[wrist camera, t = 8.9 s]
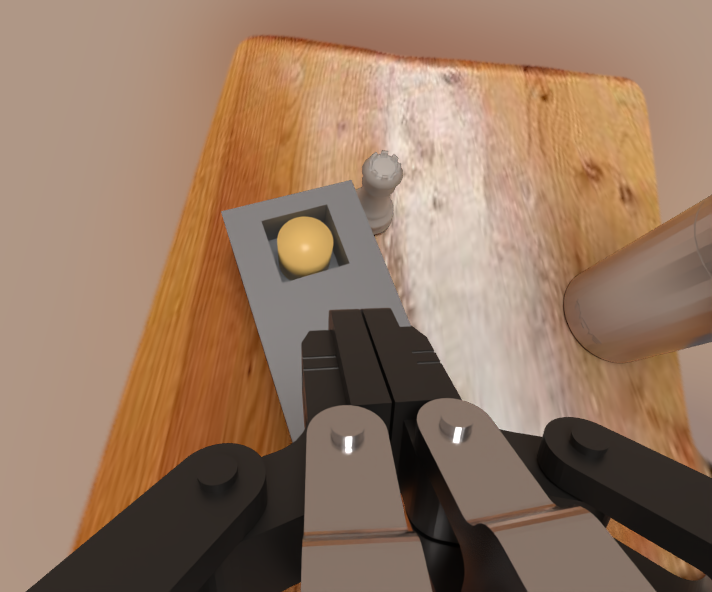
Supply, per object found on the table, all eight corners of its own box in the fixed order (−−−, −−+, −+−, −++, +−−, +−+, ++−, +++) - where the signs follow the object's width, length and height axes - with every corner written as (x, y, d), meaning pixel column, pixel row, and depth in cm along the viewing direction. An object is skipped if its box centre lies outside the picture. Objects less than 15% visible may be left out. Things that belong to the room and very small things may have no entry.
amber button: (319, 232, 36) (322, 210, 33) (336, 276, 35) (341, 258, 32) (272, 245, 35) (270, 224, 32) (287, 290, 34) (287, 273, 31)
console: (341, 223, 40) (351, 180, 34) (415, 413, 36) (443, 406, 29) (233, 251, 38) (221, 211, 32) (297, 459, 34) (299, 462, 27)
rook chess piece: (335, 206, 41) (344, 153, 33) (374, 187, 42) (392, 131, 35) (360, 245, 40) (376, 199, 33) (400, 224, 41) (424, 175, 34)
